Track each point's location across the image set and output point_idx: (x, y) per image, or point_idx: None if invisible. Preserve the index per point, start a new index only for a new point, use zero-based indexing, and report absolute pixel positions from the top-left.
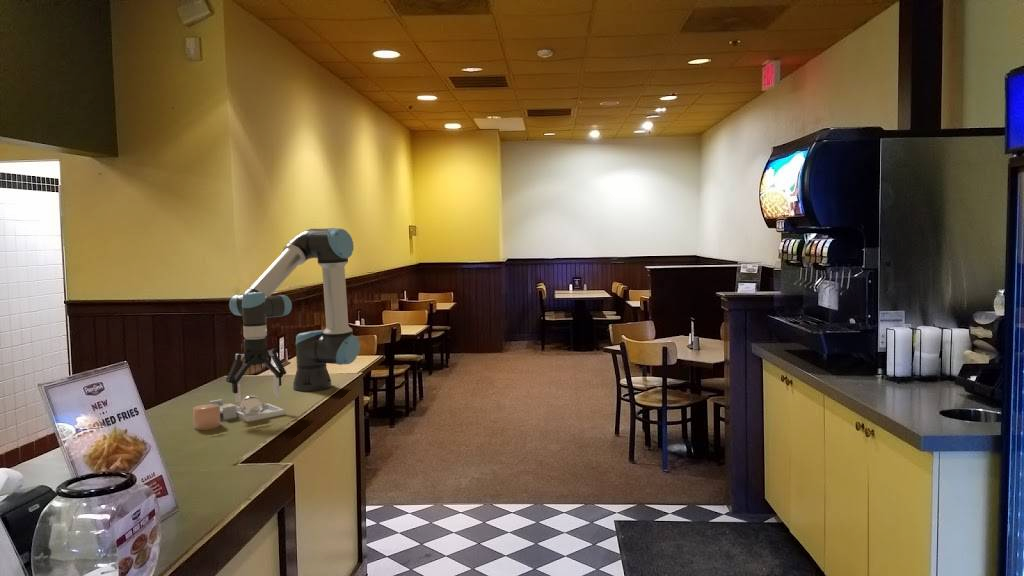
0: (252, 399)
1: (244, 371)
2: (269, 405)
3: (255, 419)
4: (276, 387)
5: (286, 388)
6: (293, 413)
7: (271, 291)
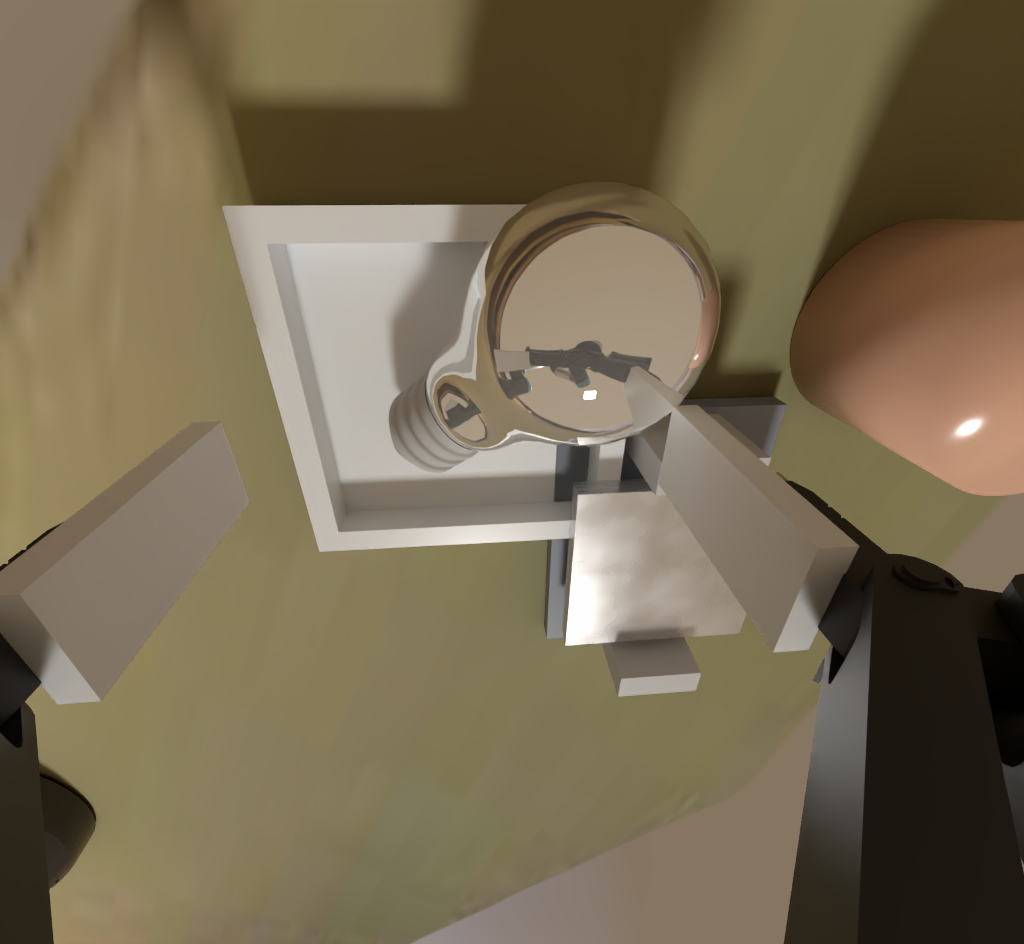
0: (643, 238)
1: (915, 829)
2: (327, 488)
3: None
4: (162, 498)
5: (134, 838)
6: (154, 280)
7: None
